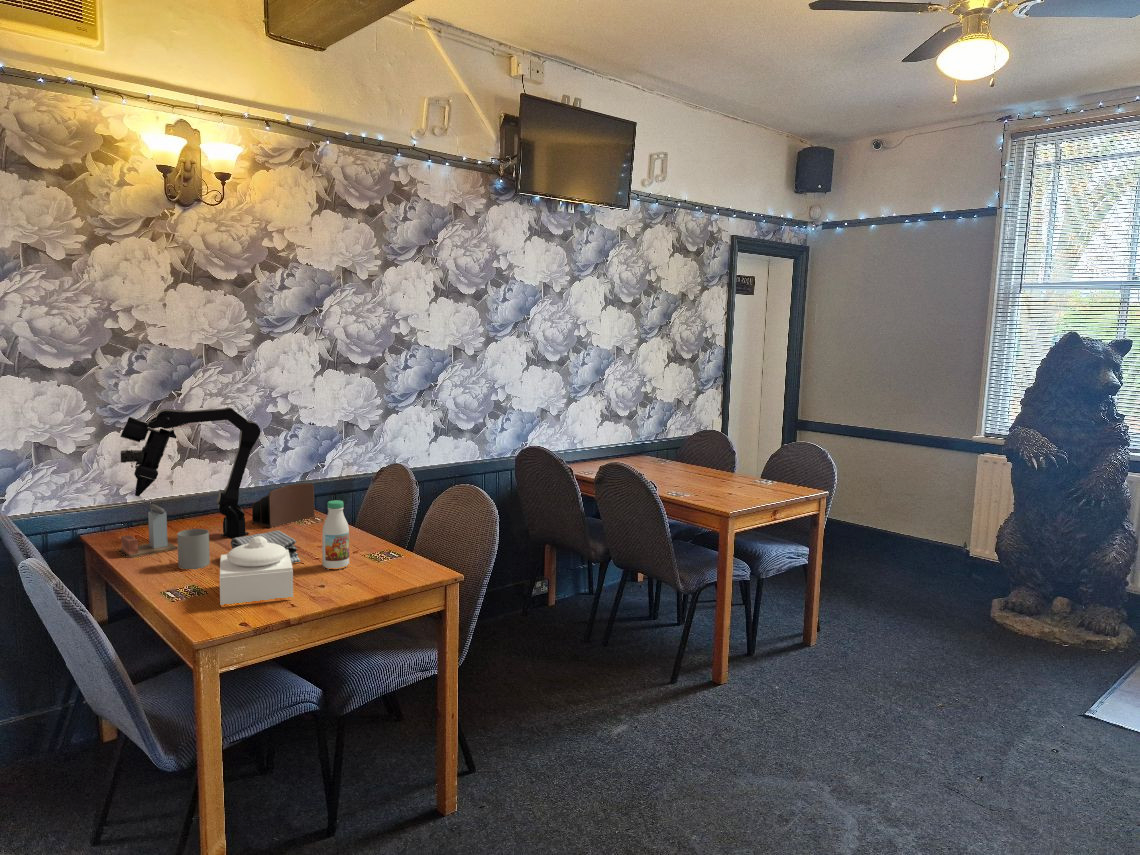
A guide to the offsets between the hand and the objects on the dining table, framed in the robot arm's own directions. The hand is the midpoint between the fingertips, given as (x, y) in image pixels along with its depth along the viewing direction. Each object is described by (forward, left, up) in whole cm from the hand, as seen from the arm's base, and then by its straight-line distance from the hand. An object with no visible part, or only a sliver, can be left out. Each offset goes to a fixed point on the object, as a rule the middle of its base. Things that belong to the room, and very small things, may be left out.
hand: (136, 493), depth 246 cm
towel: (-47, -3, -17) cm, 50 cm away
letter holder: (-21, -43, -17) cm, 51 cm away
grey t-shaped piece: (-9, +1, -17) cm, 19 cm away
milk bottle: (-69, -7, -17) cm, 72 cm away
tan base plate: (-8, +4, -17) cm, 19 cm away
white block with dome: (-64, +21, -17) cm, 69 cm away
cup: (-31, +9, -17) cm, 37 cm away
